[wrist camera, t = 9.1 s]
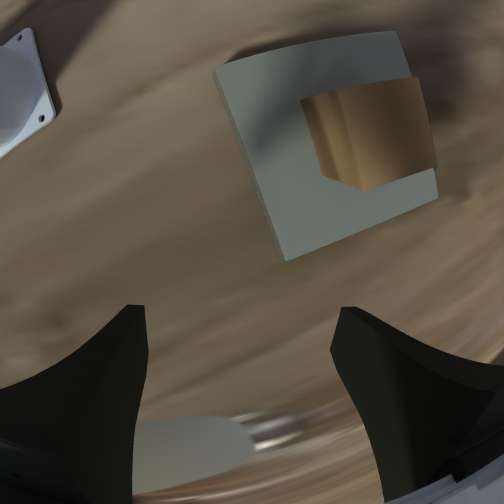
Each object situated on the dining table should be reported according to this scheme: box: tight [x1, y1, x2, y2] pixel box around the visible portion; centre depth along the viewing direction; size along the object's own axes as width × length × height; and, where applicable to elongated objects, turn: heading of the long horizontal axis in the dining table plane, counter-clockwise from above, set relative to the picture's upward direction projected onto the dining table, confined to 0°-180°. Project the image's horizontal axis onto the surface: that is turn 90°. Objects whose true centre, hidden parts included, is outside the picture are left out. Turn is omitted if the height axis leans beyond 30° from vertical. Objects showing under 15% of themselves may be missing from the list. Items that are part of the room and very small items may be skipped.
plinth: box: [213, 30, 438, 261], centre depth 18 cm, size 12×12×2 cm
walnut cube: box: [300, 76, 437, 191], centre depth 14 cm, size 4×4×5 cm
